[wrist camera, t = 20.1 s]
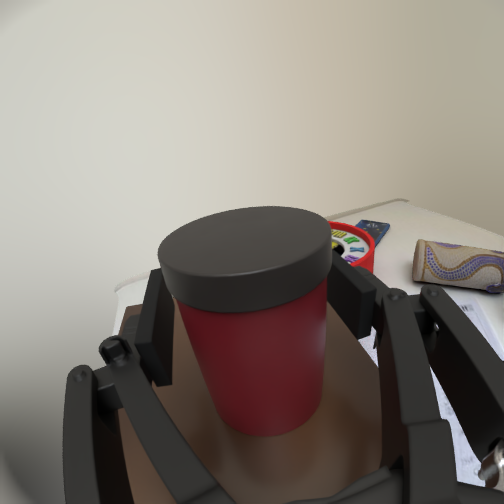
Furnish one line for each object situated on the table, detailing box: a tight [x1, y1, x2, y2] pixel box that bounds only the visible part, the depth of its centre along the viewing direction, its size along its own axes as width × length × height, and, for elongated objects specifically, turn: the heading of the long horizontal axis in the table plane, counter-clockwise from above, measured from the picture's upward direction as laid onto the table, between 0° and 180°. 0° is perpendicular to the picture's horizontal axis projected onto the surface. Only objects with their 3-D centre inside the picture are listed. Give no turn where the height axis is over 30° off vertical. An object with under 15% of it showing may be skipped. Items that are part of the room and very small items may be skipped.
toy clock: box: [328, 221, 375, 274], centre depth 45 cm, size 20×6×20 cm
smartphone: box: [355, 220, 390, 246], centre depth 57 cm, size 8×1×15 cm
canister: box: [158, 206, 332, 436], centre depth 13 cm, size 7×7×10 cm
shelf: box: [118, 298, 382, 504], centre depth 19 cm, size 18×22×10 cm
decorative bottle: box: [413, 239, 504, 293], centre depth 32 cm, size 26×8×7 cm, turn 59°
